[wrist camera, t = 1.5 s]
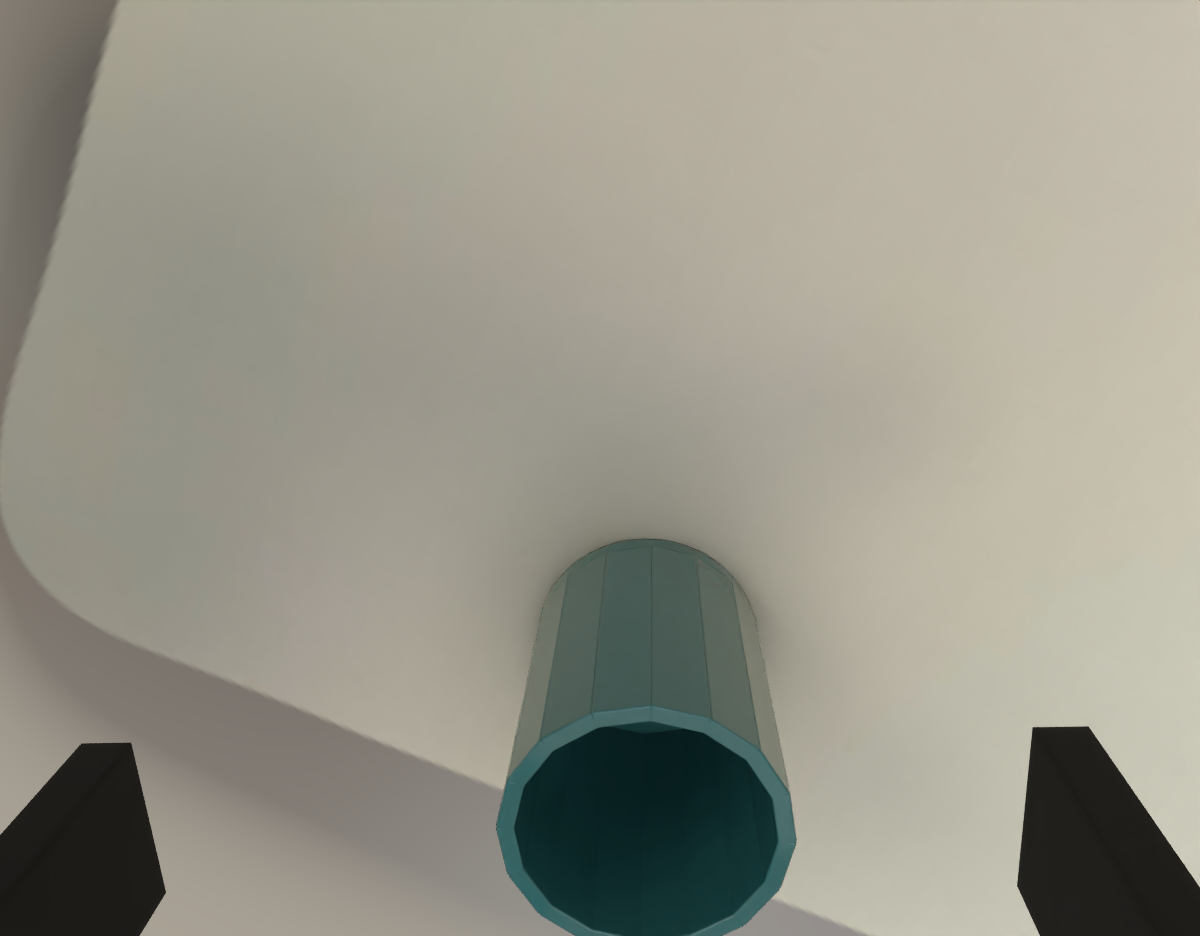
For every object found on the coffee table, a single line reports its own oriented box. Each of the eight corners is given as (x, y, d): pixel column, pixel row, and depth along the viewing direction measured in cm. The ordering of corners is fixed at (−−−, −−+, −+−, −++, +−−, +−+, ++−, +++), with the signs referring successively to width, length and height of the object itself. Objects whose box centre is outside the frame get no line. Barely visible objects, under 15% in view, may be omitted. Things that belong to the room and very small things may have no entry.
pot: (497, 657, 39) (442, 858, 29) (621, 496, 37) (610, 652, 27) (669, 766, 41) (676, 996, 30) (800, 617, 38) (856, 812, 28)
